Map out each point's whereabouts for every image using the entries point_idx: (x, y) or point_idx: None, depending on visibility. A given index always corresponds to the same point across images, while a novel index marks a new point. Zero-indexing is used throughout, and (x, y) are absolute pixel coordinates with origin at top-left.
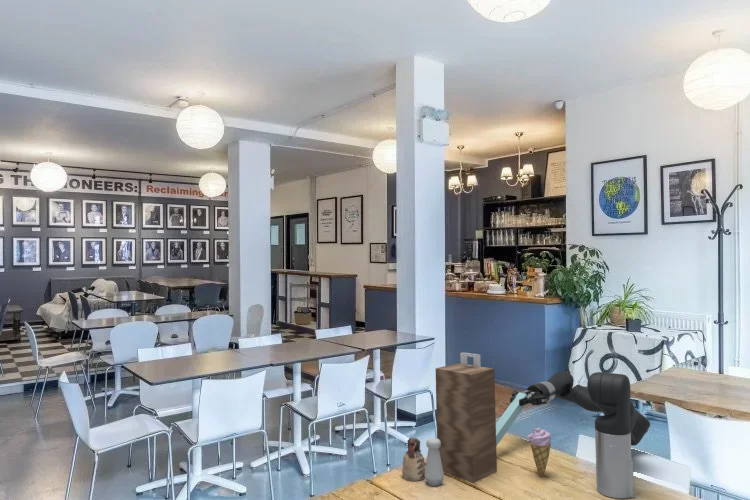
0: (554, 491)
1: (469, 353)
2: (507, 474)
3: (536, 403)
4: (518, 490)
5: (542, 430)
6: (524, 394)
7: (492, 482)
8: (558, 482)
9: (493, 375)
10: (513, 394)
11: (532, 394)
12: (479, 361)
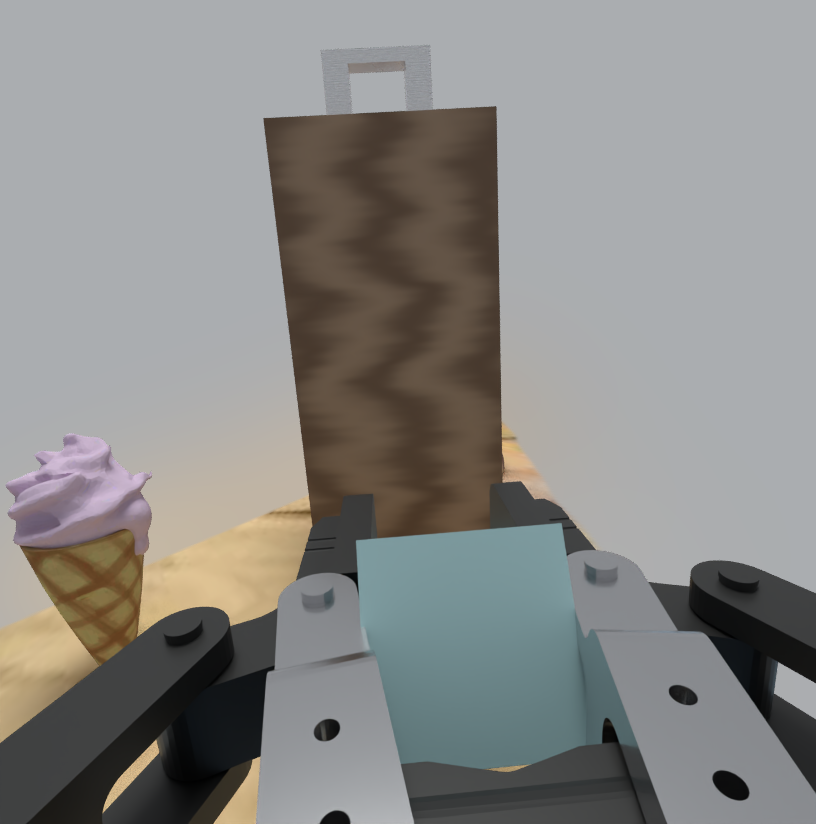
0: (57, 612)
1: (383, 50)
2: (272, 599)
3: (127, 795)
4: (192, 556)
5: (54, 464)
6: (393, 538)
7: (289, 544)
8: (29, 675)
9: (269, 157)
10: (696, 569)
11: (262, 749)
12: (325, 91)
